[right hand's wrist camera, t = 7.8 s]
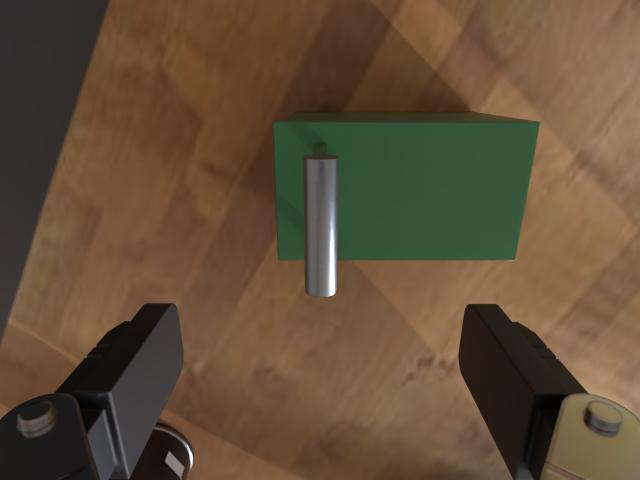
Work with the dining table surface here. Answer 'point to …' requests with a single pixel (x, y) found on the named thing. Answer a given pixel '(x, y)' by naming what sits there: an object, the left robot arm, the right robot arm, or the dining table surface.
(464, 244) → the lid
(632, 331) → the dining table surface
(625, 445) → the right robot arm
